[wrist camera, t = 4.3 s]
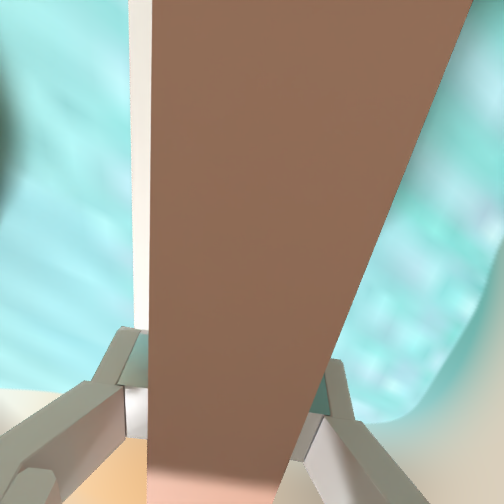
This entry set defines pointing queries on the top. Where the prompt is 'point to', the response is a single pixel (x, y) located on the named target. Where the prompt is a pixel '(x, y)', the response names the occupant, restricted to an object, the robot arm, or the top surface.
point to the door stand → (140, 151)
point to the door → (268, 215)
